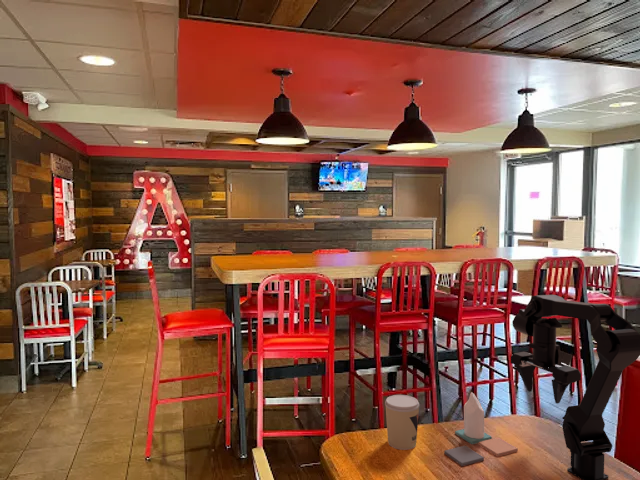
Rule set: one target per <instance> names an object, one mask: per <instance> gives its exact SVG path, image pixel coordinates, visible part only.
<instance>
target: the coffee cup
mask: <svg viewBox="0 0 640 480" xmlns="http://www.w3.org/2000/svg"><path fill="white" fill-rule="evenodd" d="M384 406H385V416H386V418H385V419H386V433H387V443H388V445H389V446H390V447H392V448H394V449H396V450H401V451H405V450H407V451H408V450H412V449H414V448H415V447H416V445H417V438H418V437H417V436H418V426H419V423H418V422H419V410H420V409H419V408H420V402H419V400H418V399H417V398H416V397H414V396H411V395H406V394H394V395H390V396H388V397H387V398H386V399H385V402H384Z"/></svg>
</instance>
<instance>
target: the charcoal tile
mask: <svg viewBox="0 0 640 480" xmlns="http://www.w3.org/2000/svg"><path fill="white" fill-rule="evenodd" d="M443 452H444V455H446V456H447V457H448V458H450V459H451V460H453V461H454V462H456V464H458V465H460V466H461V467H464V466H469V465H473V464H475V463H479V462H482V461H483V462H484V461H485V457H484V456H483V455H481V454H480V453H478V452H476V451H475V450H473V449H472V448H470V447H469V446H468V445H462V446H457V447H453V448H450V449H446V450H444V451H443Z"/></svg>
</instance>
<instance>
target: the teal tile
mask: <svg viewBox="0 0 640 480" xmlns="http://www.w3.org/2000/svg"><path fill="white" fill-rule="evenodd" d="M454 434H455V435H456V436H458V437H459V438H461V439H463V440H464V441H466V442H467V443H469V444H471V445H475V444H479V442H481V441H485V440H489V439H493V437H492V435H489V434H488V433H486V432H485V431H484V437H483V438H481V439H475V438H471V437H468V436H466V435H465V433H464V428H462V429H458V430H454Z"/></svg>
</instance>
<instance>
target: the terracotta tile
mask: <svg viewBox="0 0 640 480" xmlns="http://www.w3.org/2000/svg"><path fill="white" fill-rule="evenodd" d="M478 446H480V447H481V448H483V449H484V450H486V451H487V452H490V453H491V454H492V455H494V456H496V457H497V458H499V457H502V456H505V455H511V454H513V453H517V452H518V451H519V449H518V447H517V446H514V445H513V444H511V443H509V442H507V441H506V440H504V439H502V438H500V437H499V436H498V437H494V438H493V437H492V439H489V440H485V441H481V442H479V443H478Z"/></svg>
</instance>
